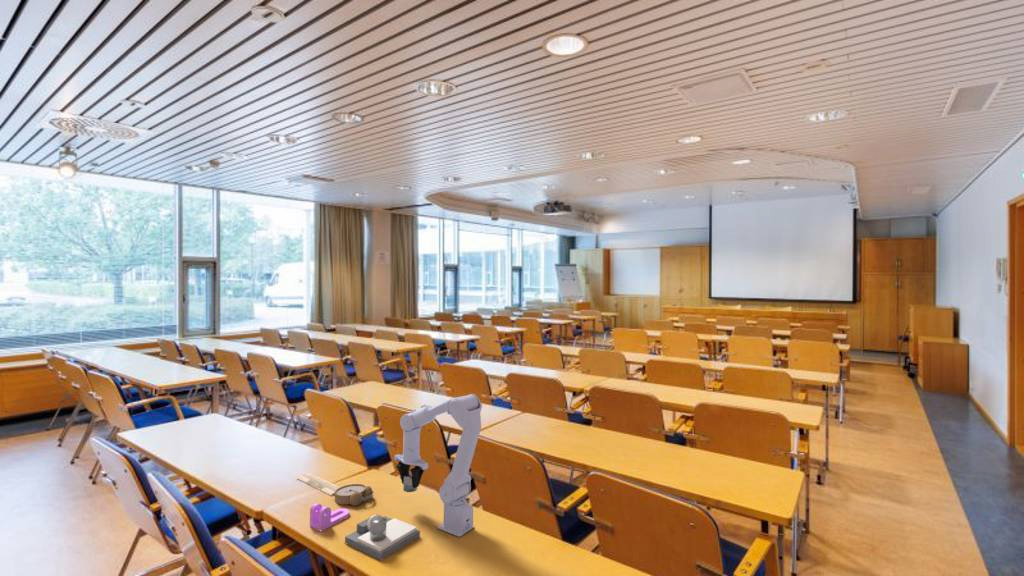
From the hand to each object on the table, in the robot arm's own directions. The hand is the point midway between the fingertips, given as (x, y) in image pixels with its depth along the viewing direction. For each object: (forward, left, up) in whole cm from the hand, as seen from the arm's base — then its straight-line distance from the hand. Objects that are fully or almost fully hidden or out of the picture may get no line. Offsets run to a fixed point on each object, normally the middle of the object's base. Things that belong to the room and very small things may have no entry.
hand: (410, 485), depth 172 cm
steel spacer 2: (0, 0, -2) cm, 2 cm away
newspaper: (+43, +6, -10) cm, 44 cm away
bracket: (+16, +21, -9) cm, 27 cm away
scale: (-7, +19, -9) cm, 22 cm away
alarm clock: (+22, +6, -9) cm, 25 cm away
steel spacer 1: (-9, +23, -6) cm, 25 cm away
